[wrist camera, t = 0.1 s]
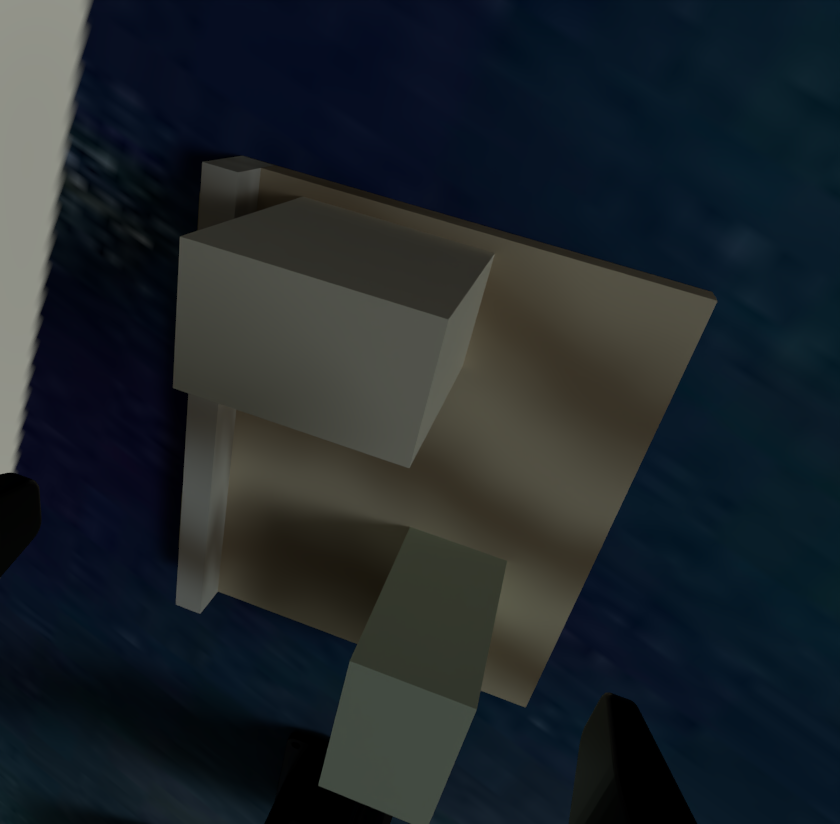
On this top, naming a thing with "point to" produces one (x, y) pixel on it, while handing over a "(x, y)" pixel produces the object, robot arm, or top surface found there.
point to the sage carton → (415, 678)
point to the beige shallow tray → (445, 442)
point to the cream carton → (327, 322)
